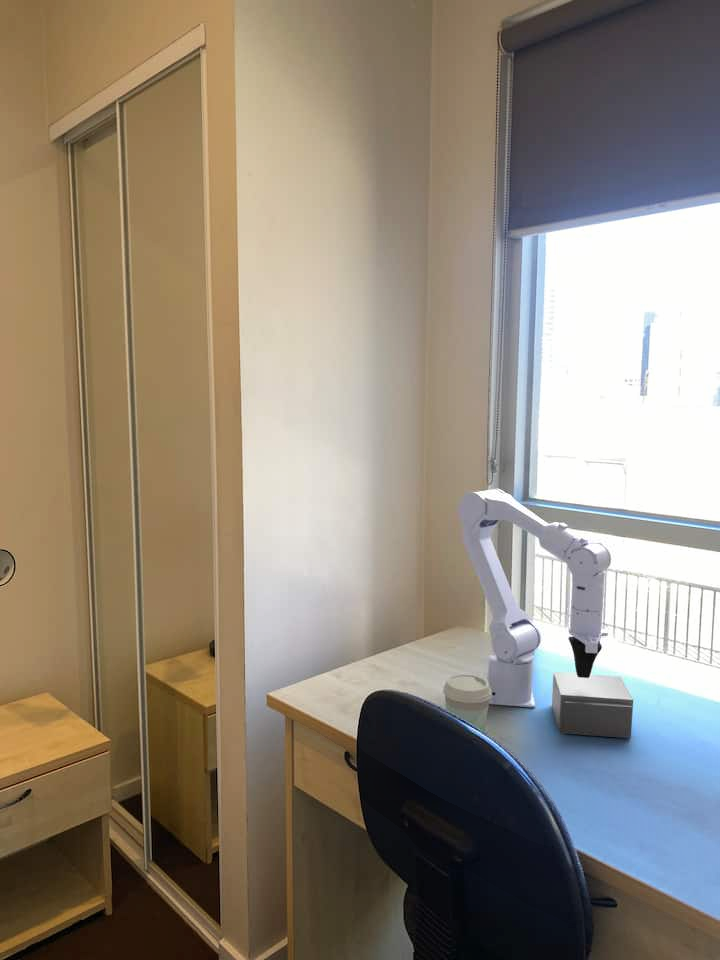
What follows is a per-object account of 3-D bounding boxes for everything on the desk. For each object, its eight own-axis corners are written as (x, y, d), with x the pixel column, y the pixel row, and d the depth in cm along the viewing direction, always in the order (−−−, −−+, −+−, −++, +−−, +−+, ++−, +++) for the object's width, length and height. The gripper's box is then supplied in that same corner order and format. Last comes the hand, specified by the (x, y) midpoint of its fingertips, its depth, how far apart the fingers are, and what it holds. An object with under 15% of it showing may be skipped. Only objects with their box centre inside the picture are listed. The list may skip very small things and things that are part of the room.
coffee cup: (478, 763, 123) (480, 696, 121) (433, 749, 127) (435, 684, 126) (496, 743, 130) (499, 679, 129) (453, 730, 135) (455, 669, 133)
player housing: (559, 730, 135) (560, 694, 134) (551, 705, 146) (553, 672, 145) (630, 736, 133) (633, 699, 132) (618, 710, 144) (620, 676, 143)
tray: (562, 733, 134) (564, 702, 133) (555, 707, 144) (556, 678, 144) (630, 738, 132) (632, 707, 131) (617, 712, 143) (619, 683, 142)
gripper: (616, 620, 128) (612, 693, 130) (601, 597, 142) (597, 663, 144) (576, 618, 129) (572, 690, 131) (564, 595, 143) (561, 661, 145)
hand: (582, 676), depth 137 cm, fingers closed
